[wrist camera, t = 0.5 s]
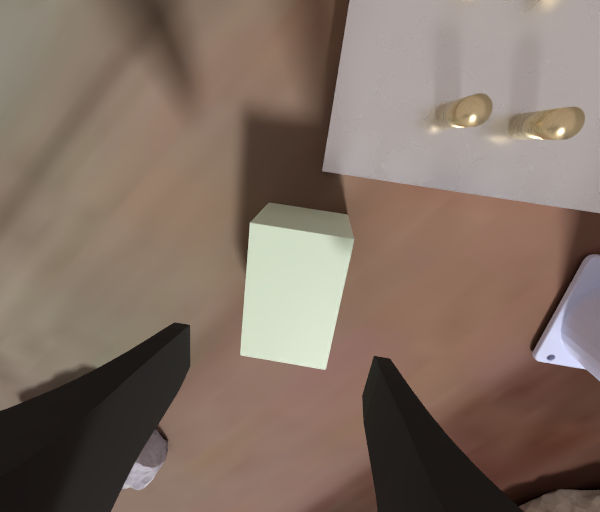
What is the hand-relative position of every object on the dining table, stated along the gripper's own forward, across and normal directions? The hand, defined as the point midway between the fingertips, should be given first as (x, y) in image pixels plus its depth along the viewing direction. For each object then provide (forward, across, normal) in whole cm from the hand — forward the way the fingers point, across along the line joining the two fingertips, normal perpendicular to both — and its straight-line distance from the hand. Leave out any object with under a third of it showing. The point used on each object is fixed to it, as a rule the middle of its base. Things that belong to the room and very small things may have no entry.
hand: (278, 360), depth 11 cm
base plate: (+9, -8, -13) cm, 18 cm away
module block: (+9, 0, 0) cm, 9 cm away
